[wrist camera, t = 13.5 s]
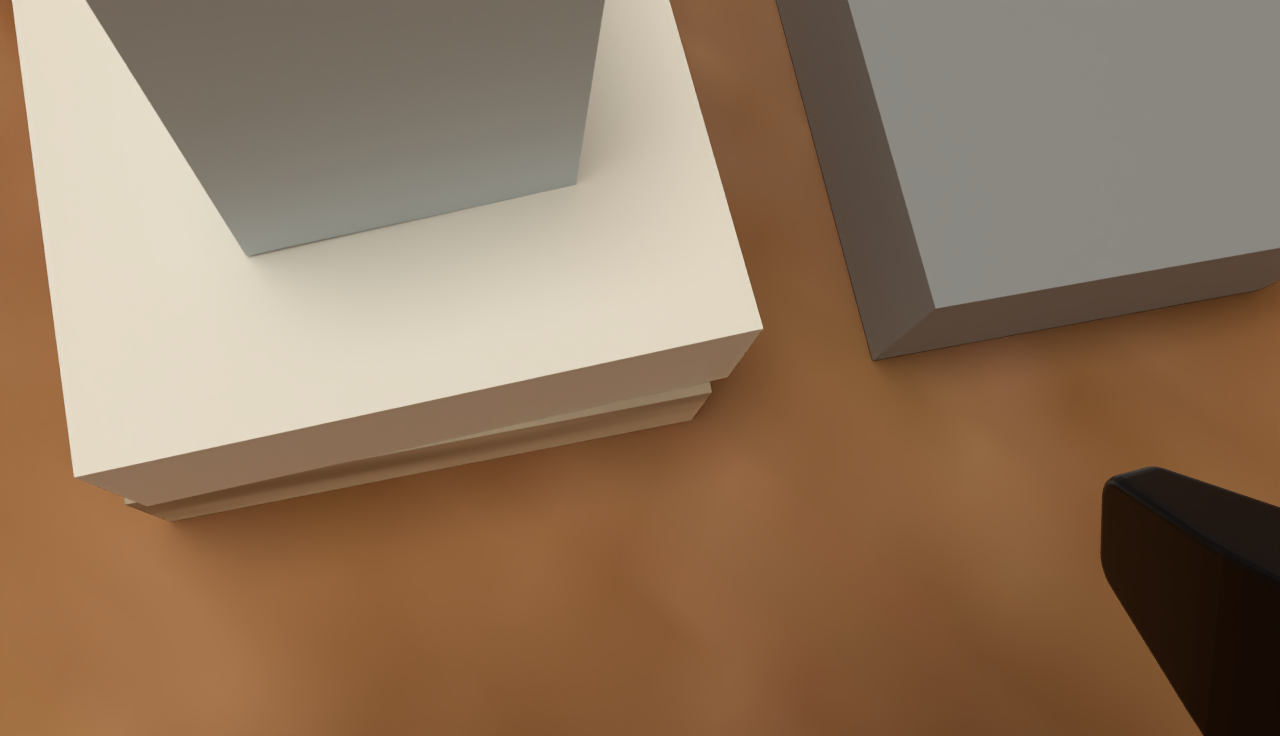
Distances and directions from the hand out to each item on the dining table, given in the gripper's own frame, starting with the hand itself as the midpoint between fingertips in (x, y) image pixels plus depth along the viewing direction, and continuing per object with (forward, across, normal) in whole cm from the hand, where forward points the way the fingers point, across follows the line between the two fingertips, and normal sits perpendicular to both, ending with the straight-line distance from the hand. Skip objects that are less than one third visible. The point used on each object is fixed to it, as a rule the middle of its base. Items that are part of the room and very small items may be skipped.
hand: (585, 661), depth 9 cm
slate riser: (+15, -11, +2) cm, 19 cm away
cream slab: (+13, +2, -1) cm, 13 cm away
